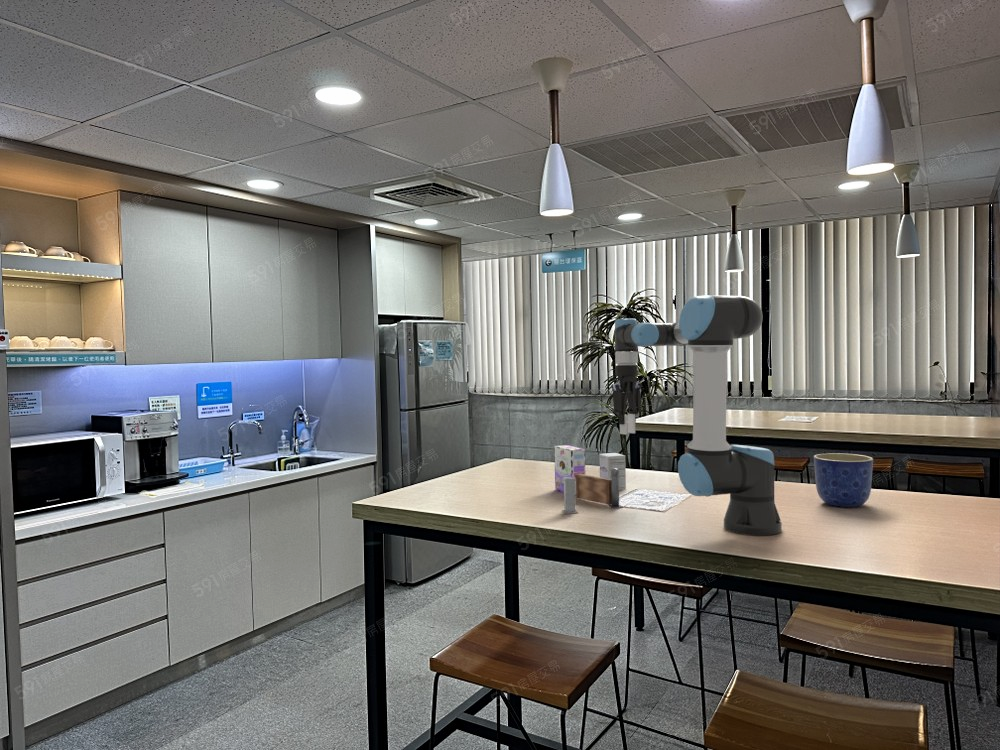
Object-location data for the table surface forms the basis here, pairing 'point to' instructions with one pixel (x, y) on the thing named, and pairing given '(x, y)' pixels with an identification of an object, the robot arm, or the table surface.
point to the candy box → (568, 464)
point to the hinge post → (615, 489)
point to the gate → (593, 489)
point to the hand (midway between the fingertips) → (627, 433)
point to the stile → (569, 495)
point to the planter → (843, 478)
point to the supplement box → (611, 462)
